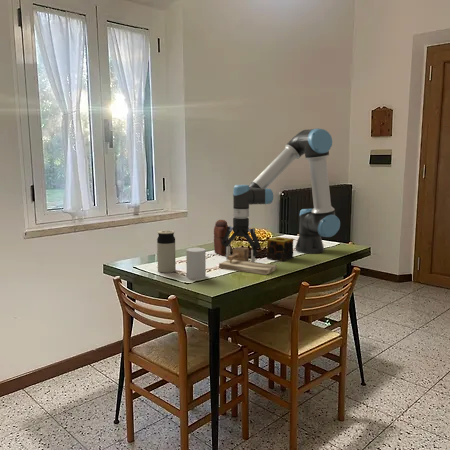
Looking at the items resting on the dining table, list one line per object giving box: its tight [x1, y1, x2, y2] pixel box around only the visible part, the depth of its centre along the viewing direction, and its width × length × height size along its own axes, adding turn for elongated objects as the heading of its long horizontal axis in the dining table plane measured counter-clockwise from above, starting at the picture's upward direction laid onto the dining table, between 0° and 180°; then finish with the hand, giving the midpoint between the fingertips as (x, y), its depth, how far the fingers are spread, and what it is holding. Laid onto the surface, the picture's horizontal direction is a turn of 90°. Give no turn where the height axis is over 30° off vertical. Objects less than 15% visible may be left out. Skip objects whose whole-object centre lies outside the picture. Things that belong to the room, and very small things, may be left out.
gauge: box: [228, 246, 250, 263], centre depth 216 cm, size 14×6×7 cm, turn 151°
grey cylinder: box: [185, 247, 207, 281], centre depth 194 cm, size 8×8×12 cm
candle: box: [266, 236, 294, 262], centre depth 229 cm, size 10×10×10 cm
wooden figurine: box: [213, 219, 230, 257], centre depth 239 cm, size 12×6×18 cm, turn 25°
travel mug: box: [156, 229, 177, 274], centre depth 204 cm, size 8×8×18 cm
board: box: [218, 259, 278, 276], centre depth 209 cm, size 11×24×2 cm, turn 61°
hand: (240, 261), depth 220 cm, fingers open, 13 cm apart
